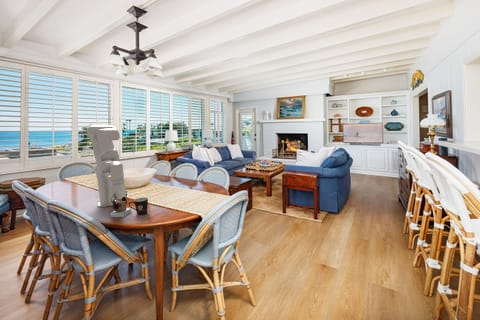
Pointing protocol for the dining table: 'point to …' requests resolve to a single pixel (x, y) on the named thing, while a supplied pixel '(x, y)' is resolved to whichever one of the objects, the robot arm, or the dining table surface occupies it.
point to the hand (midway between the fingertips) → (120, 206)
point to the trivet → (120, 213)
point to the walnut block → (121, 206)
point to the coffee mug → (141, 205)
